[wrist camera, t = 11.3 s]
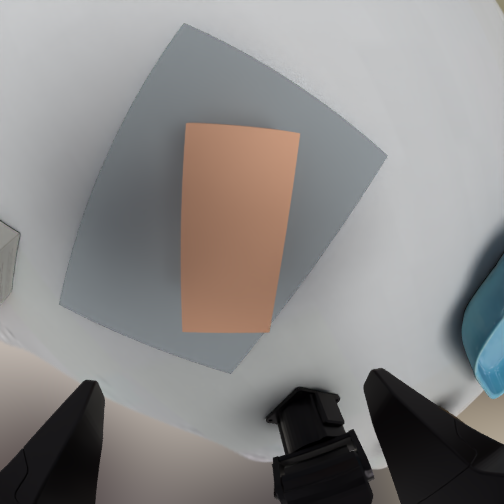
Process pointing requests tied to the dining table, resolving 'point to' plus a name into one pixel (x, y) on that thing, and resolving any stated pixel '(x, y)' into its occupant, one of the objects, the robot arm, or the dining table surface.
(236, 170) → the block
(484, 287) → the casserole dish
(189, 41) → the mat
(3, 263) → the small box
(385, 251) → the dining table surface
